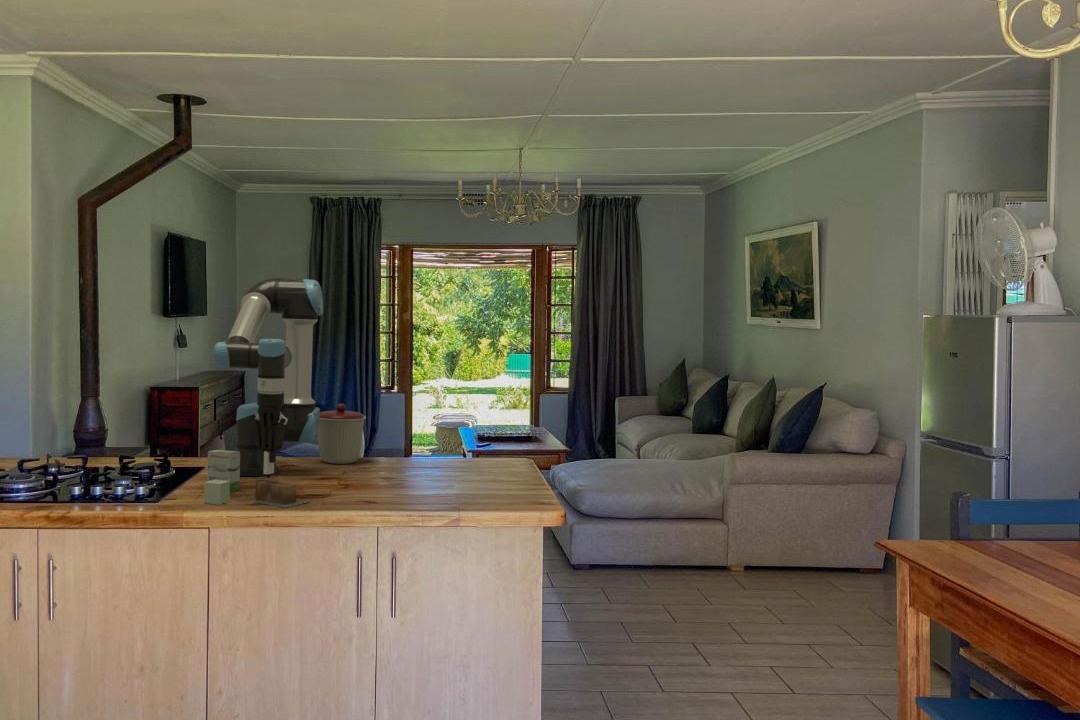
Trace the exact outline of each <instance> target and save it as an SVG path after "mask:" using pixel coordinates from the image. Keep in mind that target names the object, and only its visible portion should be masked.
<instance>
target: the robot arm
mask: <svg viewBox="0 0 1080 720" xmlns="http://www.w3.org/2000/svg"><path fill="white" fill-rule="evenodd" d="M323 313H324V299H323V292H322V288H321V285H320V283H319V281H317V280H315V279H308V278H284V277H283V278H282V277H281V278H280V277H270V278H265V279H262V280H260V281H258V282H256V283H255V284H253V285H252V286H251V287H249V288H248V289H247V290H246V292H245V293H244V294H243V296H242V298H241V301H240V310H239V312H238V315H237V316H236V319H235V322H234V324H233V326H232V328H231V331H230V333H229V335H228V338H227V340H226V341H219V342H216V343H215V345H214V346H213V347H214V348H213V363H214V364H215V366H216V367H219V368H226V369H256V370H257V392H258V393H257V394H256V402H251V403H245V404H241V405H240V406H238V407H237V409H236V418H235V421H236V423H235V427H236V429H235V432H236V433H235V450H234V451H237V452H240V477H241V476H242V477H260V476H270V475H271V476H272V475H275V474H277V472H278V465H277V463H276V461H277V451H280V450H282V449H283V446H284V445H283V444H284V443H298V444H301V443H312V442H313V441H314V440H315V439H316V436H317V434H318V432H317V430H318V425H319V419H320V412H321V409H320V408H319V407H316V401H315V400H314V399H313V398H312V372H313V371H312V370H313V368H312V367H313V342H314V341H313V340H314V338H313V335H314V334H313V333H314V325H315V324H316V323H317V322H318V321H319V317H320V316H322V315H323ZM269 314H281V320H282V321H283V322H284V323H285V325H286V328H285V329H286V331H285V333H286V335H285V340H284V339H281V338H261V339H260V340H259V341H258V343H256V342H255V340H256V338H257V335H258V333H259V330H260V328H261V325H262V323H263V321H264V318H266V317H267V316H268V315H269Z"/></svg>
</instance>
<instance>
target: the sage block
mask: <svg viewBox="0 0 1080 720" xmlns="http://www.w3.org/2000/svg"><path fill="white" fill-rule="evenodd" d="M230 493H231V492H230V481H224V480H211V481H208V482H207V481H205V482H204V495H203V499H204V502H203V503H204V504H206V503H207V505H210V504H211V505H217V506H218V505H219V506H221V505H223V503H224V504H227V503H229V502H230V501H231V500H230V497H231V495H230ZM226 502H227V503H226Z"/></svg>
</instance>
